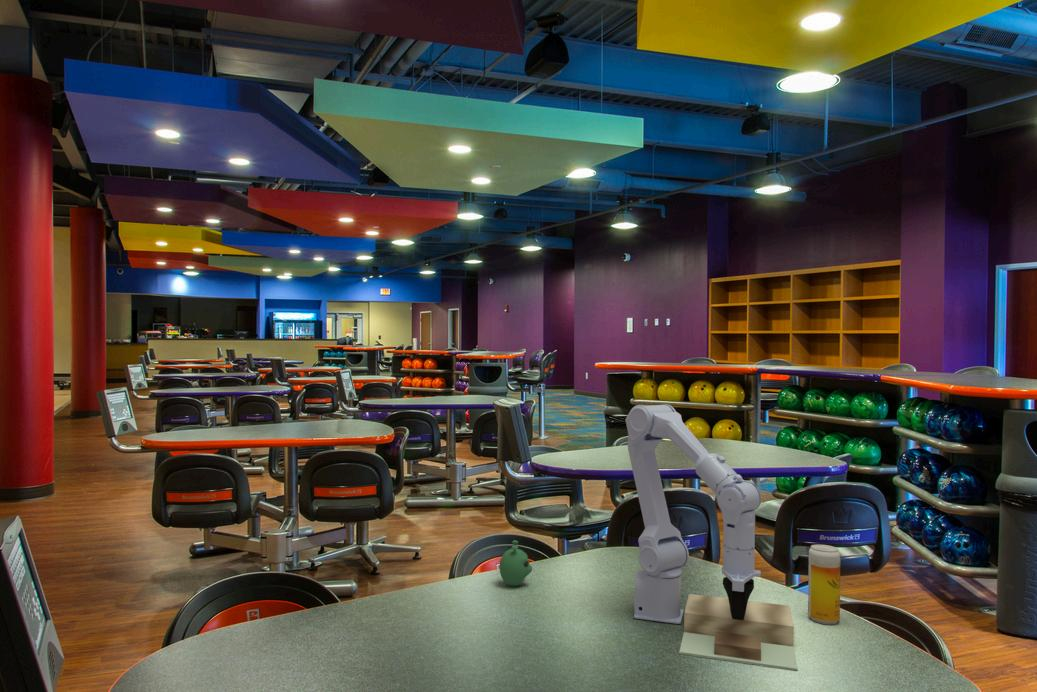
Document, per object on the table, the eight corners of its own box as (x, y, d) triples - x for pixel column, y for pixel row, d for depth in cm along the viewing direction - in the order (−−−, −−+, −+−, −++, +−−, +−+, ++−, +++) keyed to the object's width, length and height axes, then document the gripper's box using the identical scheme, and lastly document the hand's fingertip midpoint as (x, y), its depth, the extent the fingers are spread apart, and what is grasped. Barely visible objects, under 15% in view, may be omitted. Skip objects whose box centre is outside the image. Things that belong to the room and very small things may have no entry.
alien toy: (532, 590, 162) (532, 546, 162) (498, 589, 162) (499, 546, 162) (531, 581, 169) (532, 539, 169) (499, 580, 169) (500, 538, 169)
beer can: (843, 626, 143) (843, 552, 143) (811, 623, 144) (812, 550, 144) (835, 616, 149) (836, 545, 149) (805, 613, 150) (806, 543, 150)
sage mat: (679, 654, 128) (679, 651, 128) (683, 634, 137) (683, 632, 137) (797, 671, 121) (797, 668, 121) (793, 648, 131) (793, 646, 131)
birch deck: (684, 633, 138) (684, 612, 138) (688, 612, 149) (689, 593, 149) (793, 647, 131) (793, 626, 132) (789, 625, 143) (789, 605, 143)
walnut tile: (715, 631, 133) (715, 642, 133) (714, 643, 127) (714, 654, 127) (760, 637, 130) (760, 648, 130) (761, 649, 124) (761, 661, 124)
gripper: (762, 558, 125) (761, 635, 125) (760, 539, 139) (759, 608, 139) (720, 554, 127) (719, 629, 127) (723, 536, 141) (722, 604, 141)
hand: (737, 618), depth 133 cm, fingers closed
